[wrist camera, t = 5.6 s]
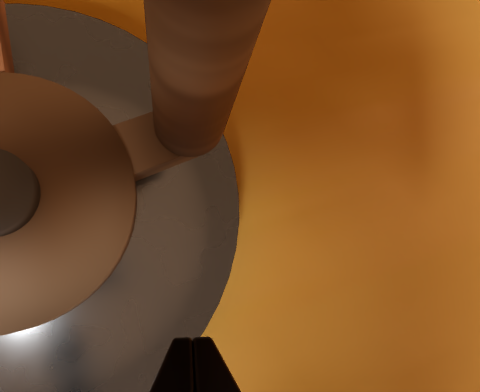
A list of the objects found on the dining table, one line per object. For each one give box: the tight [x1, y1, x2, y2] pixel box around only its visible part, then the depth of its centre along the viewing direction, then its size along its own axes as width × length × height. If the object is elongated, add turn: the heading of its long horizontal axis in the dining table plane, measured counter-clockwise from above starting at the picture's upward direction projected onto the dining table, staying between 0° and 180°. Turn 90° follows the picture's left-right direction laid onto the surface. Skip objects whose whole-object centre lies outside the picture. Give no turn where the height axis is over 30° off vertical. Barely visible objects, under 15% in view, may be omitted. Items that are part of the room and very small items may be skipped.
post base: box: [0, 4, 239, 392], centre depth 14 cm, size 17×17×5 cm
